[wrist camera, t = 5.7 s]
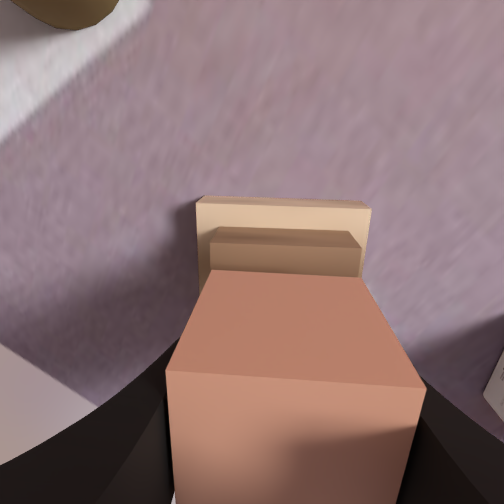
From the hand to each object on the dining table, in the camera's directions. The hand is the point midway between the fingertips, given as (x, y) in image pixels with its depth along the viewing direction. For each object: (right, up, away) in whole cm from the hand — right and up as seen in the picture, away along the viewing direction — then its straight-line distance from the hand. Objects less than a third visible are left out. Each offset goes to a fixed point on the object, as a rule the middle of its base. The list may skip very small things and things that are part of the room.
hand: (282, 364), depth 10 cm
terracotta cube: (0, +1, +1) cm, 2 cm away
